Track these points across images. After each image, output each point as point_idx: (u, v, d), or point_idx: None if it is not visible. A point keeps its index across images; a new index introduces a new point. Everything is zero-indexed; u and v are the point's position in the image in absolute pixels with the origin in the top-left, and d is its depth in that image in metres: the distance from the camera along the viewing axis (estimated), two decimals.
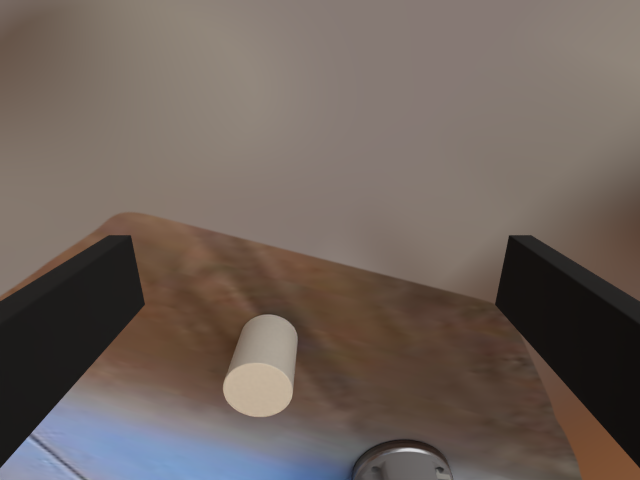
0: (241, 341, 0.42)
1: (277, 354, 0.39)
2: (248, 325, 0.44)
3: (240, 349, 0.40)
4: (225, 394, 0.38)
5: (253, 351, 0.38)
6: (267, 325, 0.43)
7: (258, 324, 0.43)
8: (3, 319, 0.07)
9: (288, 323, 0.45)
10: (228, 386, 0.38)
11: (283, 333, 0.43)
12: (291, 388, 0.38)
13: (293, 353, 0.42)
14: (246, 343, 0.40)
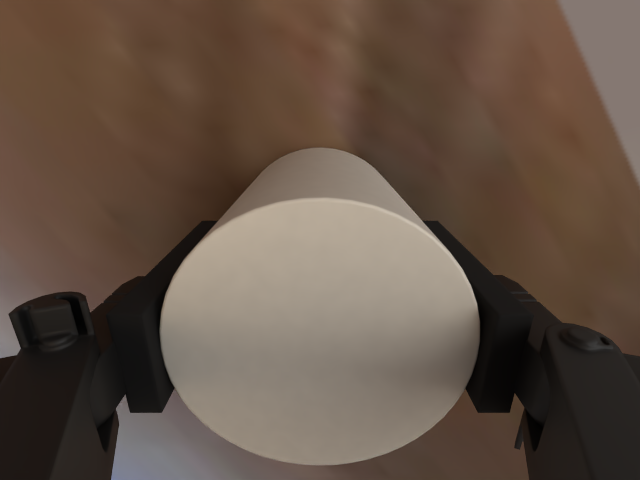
0: (306, 162, 0.12)
1: None
2: (319, 151, 0.14)
3: (318, 170, 0.10)
4: (177, 287, 0.08)
5: (392, 198, 0.09)
6: None
7: (360, 162, 0.14)
8: (165, 282, 0.09)
9: None
10: (219, 261, 0.07)
11: None
12: (441, 415, 0.09)
13: None
14: (340, 168, 0.11)
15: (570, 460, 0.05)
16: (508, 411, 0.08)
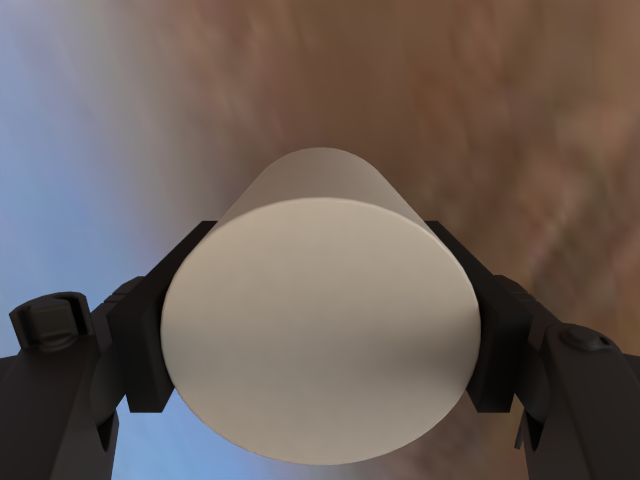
0: (307, 162, 0.12)
1: None
2: (319, 151, 0.14)
3: (318, 170, 0.10)
4: (178, 286, 0.08)
5: (393, 198, 0.09)
6: None
7: (361, 162, 0.14)
8: (166, 282, 0.09)
9: None
10: (220, 260, 0.07)
11: None
12: (442, 414, 0.09)
13: None
14: (341, 167, 0.11)
15: (570, 460, 0.05)
16: (508, 411, 0.08)
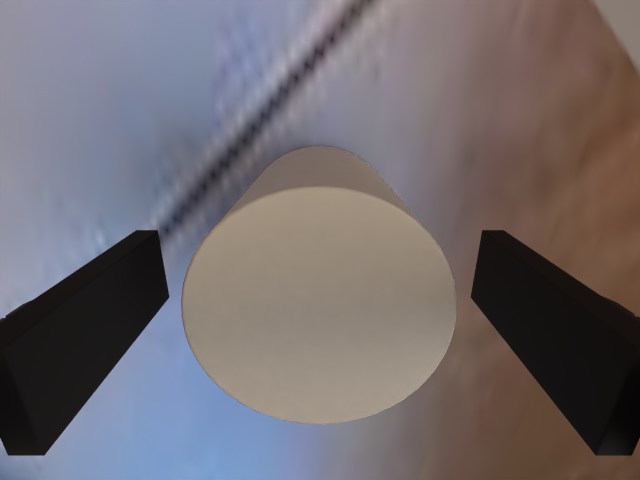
0: (307, 158, 0.13)
1: None
2: (318, 148, 0.16)
3: (318, 165, 0.11)
4: (197, 263, 0.09)
5: (382, 189, 0.10)
6: None
7: (356, 159, 0.15)
8: (55, 305, 0.08)
9: None
10: (234, 241, 0.09)
11: None
12: (425, 377, 0.10)
13: None
14: (337, 163, 0.12)
15: None
16: (631, 454, 0.07)
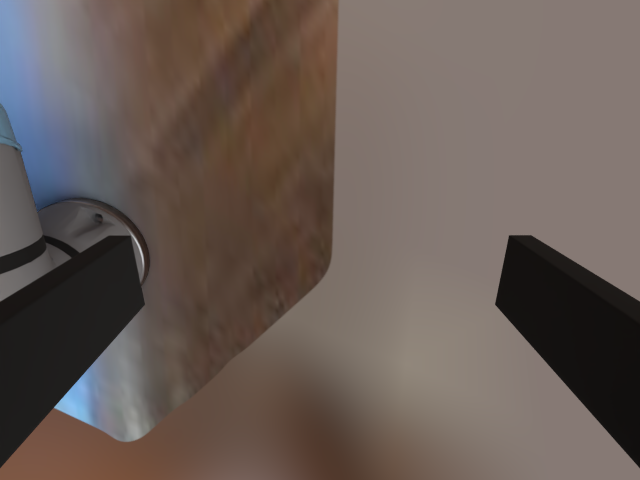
0: None
1: None
2: None
3: None
4: None
5: None
6: None
7: None
8: (3, 319, 0.07)
9: None
10: None
11: None
12: None
13: None
14: None
15: None
16: None
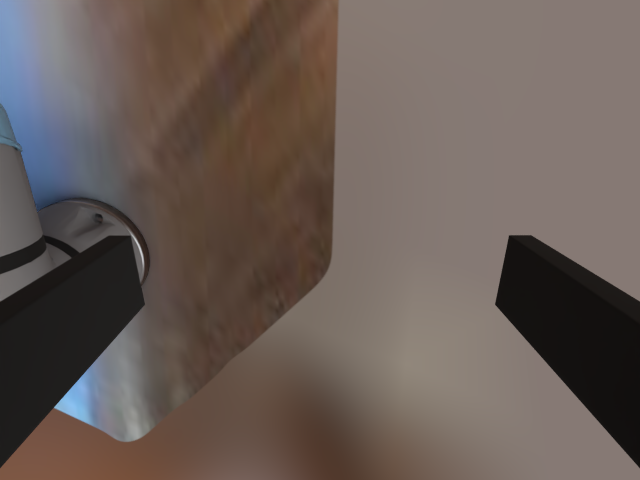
0: None
1: None
2: None
3: None
4: None
5: None
6: None
7: None
8: (3, 319, 0.07)
9: None
10: None
11: None
12: None
13: None
14: None
15: None
16: None
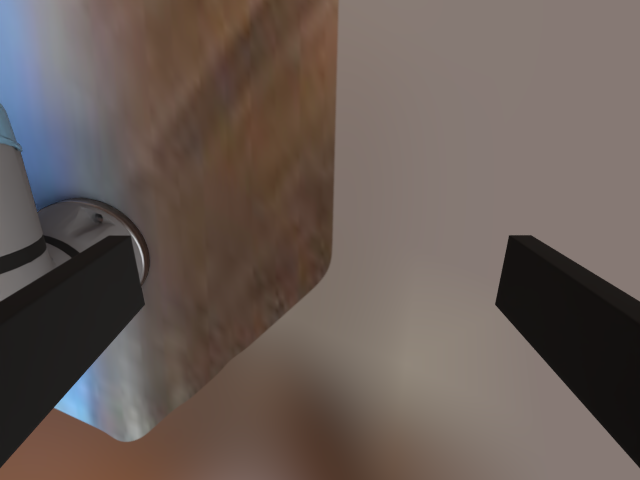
0: None
1: None
2: None
3: None
4: None
5: None
6: None
7: None
8: (3, 319, 0.07)
9: None
10: None
11: None
12: None
13: None
14: None
15: None
16: None
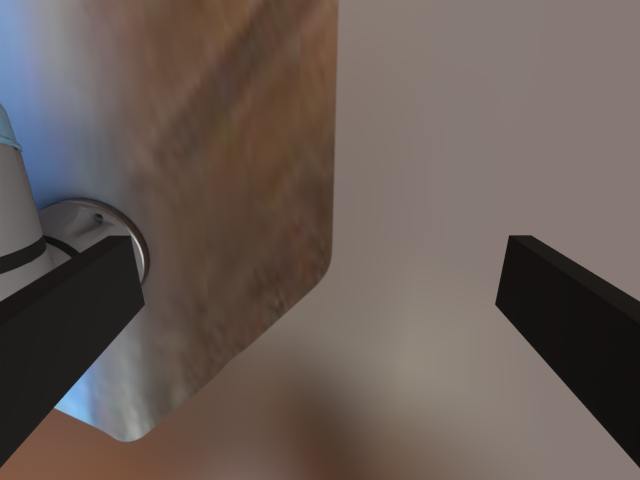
0: None
1: None
2: None
3: None
4: None
5: None
6: None
7: None
8: (3, 319, 0.07)
9: None
10: None
11: None
12: None
13: None
14: None
15: None
16: None
